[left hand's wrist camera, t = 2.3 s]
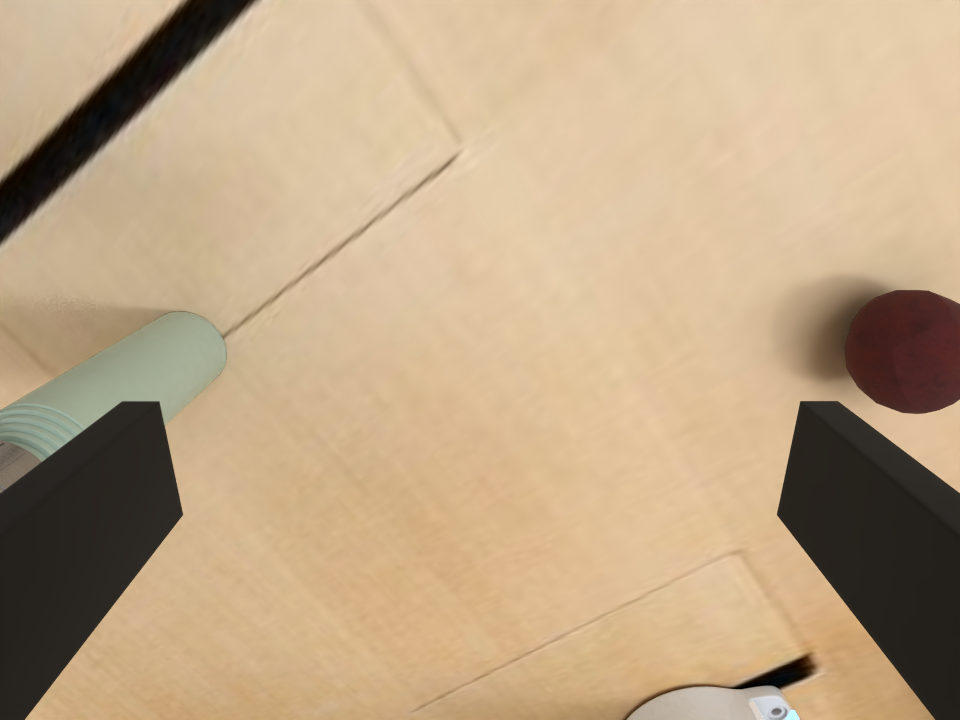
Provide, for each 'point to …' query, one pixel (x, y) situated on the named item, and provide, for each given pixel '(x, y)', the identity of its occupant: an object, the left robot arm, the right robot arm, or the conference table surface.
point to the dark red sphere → (907, 351)
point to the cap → (14, 463)
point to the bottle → (119, 382)
